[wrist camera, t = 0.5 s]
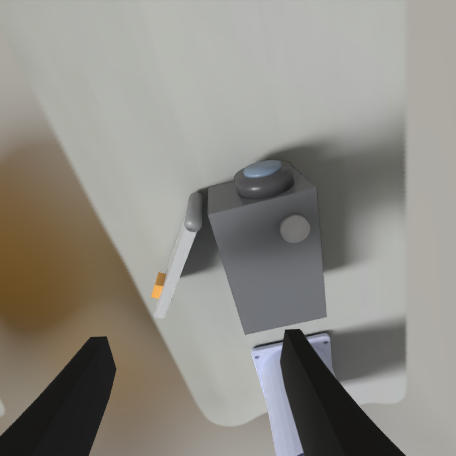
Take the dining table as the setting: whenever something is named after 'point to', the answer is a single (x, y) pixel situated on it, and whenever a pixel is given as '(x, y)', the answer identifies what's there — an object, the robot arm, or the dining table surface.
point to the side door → (178, 255)
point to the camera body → (270, 245)
